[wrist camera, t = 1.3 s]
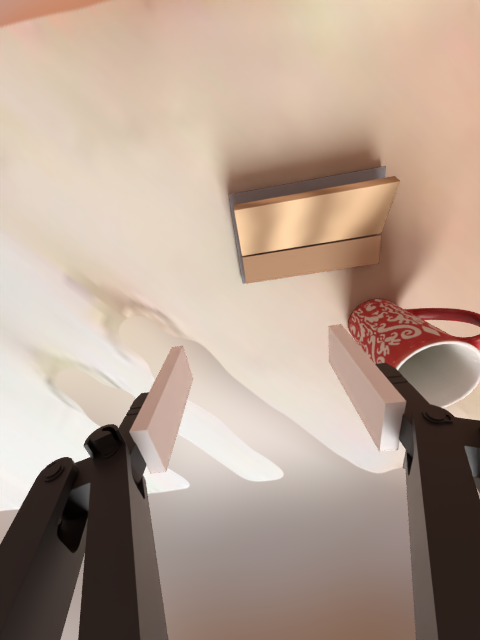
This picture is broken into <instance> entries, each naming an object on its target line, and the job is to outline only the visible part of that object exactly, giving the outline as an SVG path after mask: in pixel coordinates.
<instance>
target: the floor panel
mask: <svg viewBox="0 0 480 640" xmlns="http://www.w3.org/2000/svg"><path fill="white" fill-rule="evenodd" d="M385 170H386V166H383V167H377V168H372V169H366V170H361V171H355V172H350V173H344V174H339V175H333V176H328V177H323V178H317V179H312V180H306V181H301V182H295V183H290V184H284V185H279V186H273V187H268V188H262V189H257V190H251V191H246V192H240V193H235V194H229V200H230V207H231V213H232V219H233V225H234V231H235V238H236V244H237V250H238V256H239V263H240V269H241V275H242V281H243V284H244V283H246V284H247V283H253V282H260V281H266V280H273V279H279V278H286V277H292V276H299V275H306V274H312V273H319V272H325V271H332V270H338V269H345V268H351V267H358V266H364V265H371V264H378V263H379V255H380V243H381V235H380V234H374V235H368V236H362V237H356V238H350V239H344V240H337V241H331V242H325V243H319V244H313V245H307V246H300V247H294V248H288V249H282V250H276V251H269V252H263V253H257V254H251V255H245V256H242V253H241V247H240V241H239V235H238V229H237V224H236V218H235V212H234V205H236V204H242V203H248V202H253V201H259V200H264V199H270V198H275V197H281V196H287V195H292V194H298V193H303V192H309V191H315V190H320V189H326V188H331V187H337V186H343V185H348V184H354V183H359V182H365V181H371V180H376V179H382V178H385Z"/></svg>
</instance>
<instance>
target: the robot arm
mask: <svg viewBox="0 0 480 640" xmlns="http://www.w3.org/2000/svg"><path fill="white" fill-rule="evenodd" d="M329 363H330V364H331V366H332V368H333V370H334V372H335V373H336V375H337V377H338V379H339V380H340V382H341V384H342V386H343V388H344V389H345V391H346V393H347V395H348V396H349V398H350V400H351V402H352V404H353V405H354V407H355V409H356V411H357V413H358V414H359V416H360V418H361V420H362V421H363V423H364V425H365V427H366V429H367V430H368V432H369V434H370V436H371V437H372V439H373V441H374V443H375V445H376V446H377V448H378V450H379V452H380V451H390V450H398V446H399V441H400V442H401V443H402V445H403V446H404V447H405V449H406V452H405V458H404V463H403V468H404V469H406V484H407V500H408V517H409V533H410V549H411V566H412V582H413V598H414V615H415V630H416V640H480V499H479V495H478V492H477V489H478V491H479V492H480V421H478V420H471V419H463V418H457V417H454V416H453V415H452V414H451V413H450V412H449V411H447V410H445V409H443V408H441V407H439V406H435V405H432V404H429V403H428V401H427V400H426V399H425V398H424V397H423V396H422V395H421V394H420V393H419V392H418V391H417V390H416V389H415V388H414V387H413V386H412V385H411V384H410V383H408V381H407V380H406V378H405V377H403V376H402V374H401V373H400V372H399V371H398V370H397V369H396V368H394V367H393V366H391V365H389V364H387V363H379V364H374V363H373V361H372V360H371V359H370V358H369V357H368V355H367V354H366V353H365V352H364V351H363V350H362V348H361V347H360V346H359V345H358V344H357V342H356V341H355V340H354V339H353V338H352V337H351V335H350V334H349V333H348V332H347V331H346V329H345V328H344V327H343V326H342V325H341V324H339V325H332V326H329ZM192 381H193V377H192V374H191V370H190V367H189V364H188V361H187V357H186V354H185V350H184V347H183V346H179V347H172V349H171V350H170V353H169V354H168V356H167V358H166V360H165V362H164V364H163V366H162V368H161V370H160V372H159V374H158V376H157V378H156V380H155V382H154V384H153V386H152V388H151V390H150V392H148V393H141V394H140V395H139V396H138V397H137V398H136V399H135V400H134V402H133V404H132V405H131V407H130V410H129V411H128V412H127V414H126V416H125V418H124V420H123V422H122V423H121V425H120V427H119V428H118V427H117V426H116V425H114V424H111V425H105V426H102V427H100V428H99V429H97V430H95V431H94V432H93V433H92V434H91V435H89V437H88V438H87V439H86V441H85V443H84V447H85V449H86V450H87V452H88V453H89V455H90V458H87V459H84V460H82V461H79V462H76V463H74V461H73V460H72V459H71V458H69V457H64V458H60V459H58V460H55V461H54V462H52V463H51V464H49V465H48V466H47V467H46V468H44V469H43V470H42V471H41V473H40V474H39V475H38V477H37V478H36V480H35V482H34V484H33V486H32V487H31V489H30V491H29V493H28V495H27V497H26V498H25V500H24V502H23V504H22V506H21V508H20V509H19V511H18V513H17V515H16V517H15V519H14V521H13V522H12V524H11V526H10V528H9V530H8V531H7V533H6V535H5V537H4V539H3V541H2V543H1V544H0V640H60V639H61V636H62V632H63V628H64V625H65V621H66V617H67V614H68V610H69V607H70V603H71V600H72V596H73V593H74V589H75V585H76V582H77V578H78V575H79V571H80V567H81V564H82V560H83V557H84V553H85V560H84V573H83V586H82V599H81V612H80V626H79V638H78V640H168V634H167V629H166V628H167V627H166V621H165V614H164V607H163V600H162V593H161V586H160V579H159V572H158V565H157V558H156V551H155V544H154V537H153V530H152V523H151V516H150V509H149V502H148V496H147V488H146V481H145V478H144V476H143V473H144V470H145V467H146V466H147V468H148V470H149V472H150V473H160V472H166V471H167V467H168V464H169V460H170V457H171V453H172V450H173V446H174V443H175V440H176V436H177V433H178V429H179V426H180V422H181V419H182V415H183V412H184V409H185V405H186V402H187V398H188V395H189V391H190V388H191V384H192ZM476 487H477V488H476Z"/></svg>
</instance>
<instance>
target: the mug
mask: <svg viewBox="0 0 480 640" xmlns="http://www.w3.org/2000/svg"><path fill="white" fill-rule="evenodd" d="M424 320H450V321H460V322H466V323H470V324H474V325H477V326H479V327H480V314H478V313H475V312H471V311H466V310H460V309H448V308H419V309H402V308H400V307H399V306H397V305H395V304H394V303H392V302H390V301H388V300H384V299H373V300H369V301H367V302H364V303H363V304H361V305H360V306H358V307H357V308H356V309H355V310H354V312H353V313H352V315H351V316H350V319H349V325H348V326H349V331H350V333H351V335H352V336H353V338H354V340H355V341H356V342H357V344H358V345H359V346H360V347H361V348H362V350H363V351H364V352H365V353H366V354H367V355H368V357H369V358H370V359H371V360H372V361H373V363H374V364H379V363H387V364H389V365H391V366H393V367H394V368H396V369H397V370H398V371H399V372H400V373H401V374H402V376H403V377H405V378H406V380H407V381H408V383H410V384H411V385H412V386H413V387H414V388H415V389H416V390H417V391H418V392H419V393H420V394H421V395H422V396H423V397H424V398H425V399H426V400H427V401H428V403H429V404H432V405H435V406H439V407H441V408H444V407H447V406H449V405H452V404H454V403H456V402H458V401H460V400H461V399H463V398H464V397H466V396H467V395H468V394H469V393H471V392H472V391H473V390H474V389H475V388H476V386H477V385H478V384H479V382H480V351H479V350H480V334H479V335H476V336H473V337H466V338H462V337H455V336H451V335H449V334H447V333H446V332H444V331H442V330H440V329H439V328H437V327H435V326H433V325H431V324H429V323H427V322H426V321H424Z"/></svg>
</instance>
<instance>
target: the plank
mask: <svg viewBox="0 0 480 640" xmlns="http://www.w3.org/2000/svg"><path fill="white" fill-rule="evenodd" d="M399 183H400V181H399V180H398V179H397V178H396V177H395V176H393V177H387V178H382V179H376V180H371V181H365V182H359V183H354V184H348V185H343V186H337V187H331V188H326V189H320V190H315V191H309V192H303V193H298V194H292V195H287V196H281V197H275V198H270V199H264V200H259V201H253V202H248V203H242V204H236V205H234V212H235V218H236V224H237V229H238V235H239V241H240V247H241V253H242V256H245V255H251V254H257V253H263V252H269V251H276V250H282V249H288V248H294V247H300V246H307V245H313V244H319V243H325V242H331V241H337V240H344V239H350V238H356V237H362V236H368V235H374V234H381V232H382V229H383V226H384V224H385V221H386V218H387V215H388V213H389V210H390V207H391V205H392V202H393V199H394V196H395V194H396V191H397V188H398V186H399Z"/></svg>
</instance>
